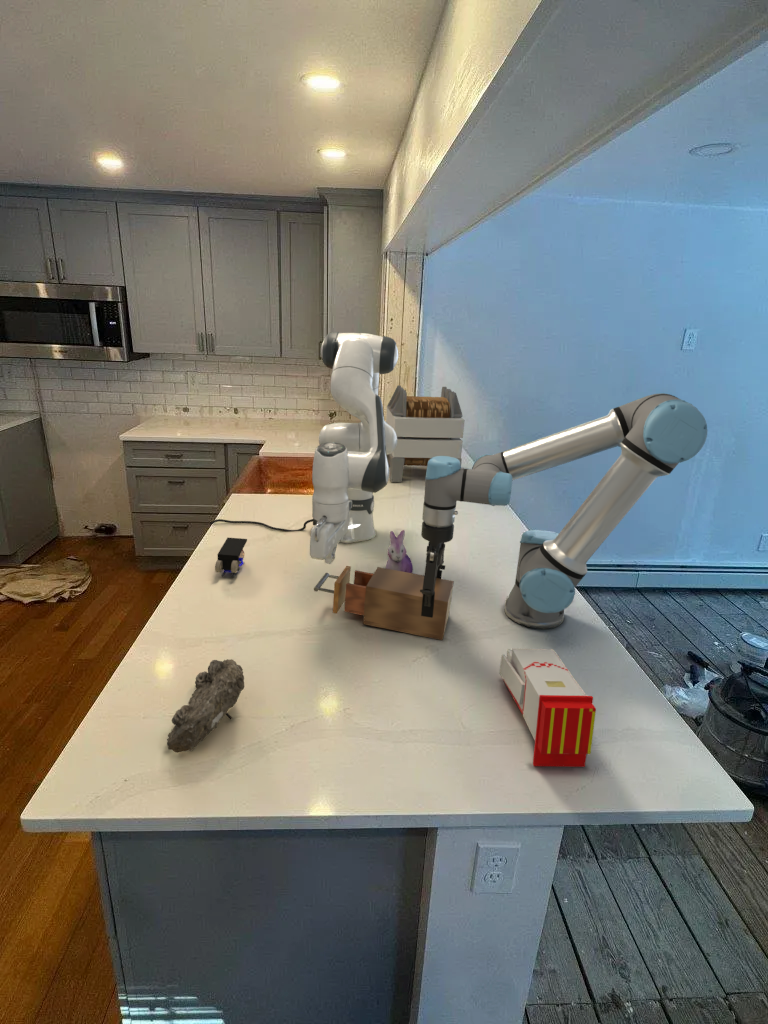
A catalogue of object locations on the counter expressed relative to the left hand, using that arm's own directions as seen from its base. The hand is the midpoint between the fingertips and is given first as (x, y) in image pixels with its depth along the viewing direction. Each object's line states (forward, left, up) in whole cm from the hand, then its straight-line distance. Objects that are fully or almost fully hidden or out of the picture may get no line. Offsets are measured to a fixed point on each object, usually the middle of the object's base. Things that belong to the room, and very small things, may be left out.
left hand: (329, 561), depth 143 cm
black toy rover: (-35, +12, -14) cm, 40 cm away
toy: (+53, -25, -14) cm, 61 cm away
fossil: (-6, -46, -14) cm, 48 cm away
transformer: (-7, +138, -14) cm, 139 cm away
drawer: (+9, +1, -12) cm, 15 cm away
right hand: (+26, +1, -8) cm, 28 cm away
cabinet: (+21, +1, -13) cm, 25 cm away
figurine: (+12, +23, -14) cm, 30 cm away
